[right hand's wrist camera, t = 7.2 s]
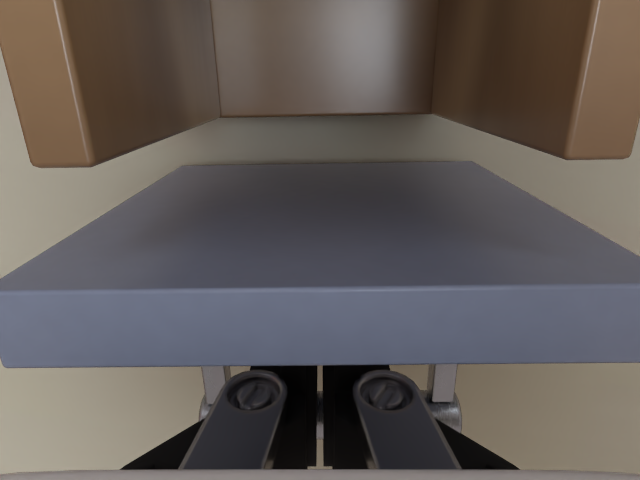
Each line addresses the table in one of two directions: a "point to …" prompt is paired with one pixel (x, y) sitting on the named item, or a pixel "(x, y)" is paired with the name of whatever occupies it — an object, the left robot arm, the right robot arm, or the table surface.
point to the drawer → (324, 188)
